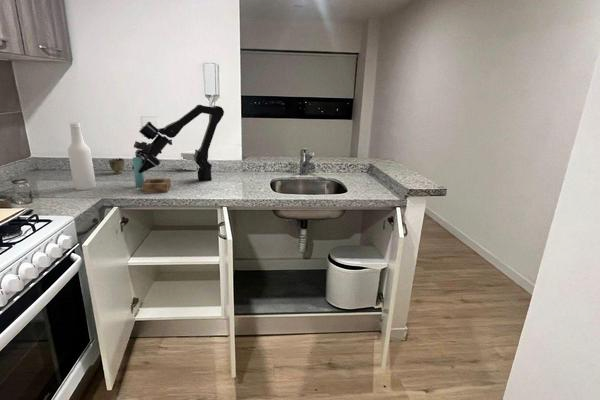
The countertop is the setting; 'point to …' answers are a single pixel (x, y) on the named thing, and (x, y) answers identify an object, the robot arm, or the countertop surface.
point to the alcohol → (80, 160)
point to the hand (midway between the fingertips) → (135, 170)
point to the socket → (156, 185)
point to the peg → (138, 176)
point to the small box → (188, 156)
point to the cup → (117, 165)
